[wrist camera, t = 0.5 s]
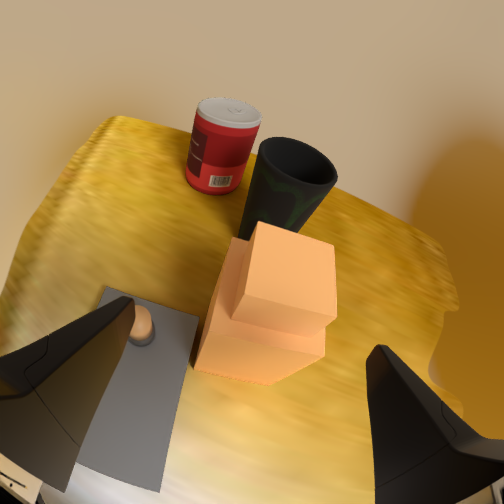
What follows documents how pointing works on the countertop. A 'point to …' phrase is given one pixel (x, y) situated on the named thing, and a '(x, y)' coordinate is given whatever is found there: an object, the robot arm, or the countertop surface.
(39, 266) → the countertop surface
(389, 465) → the robot arm
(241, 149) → the canned food
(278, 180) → the cup
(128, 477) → the board
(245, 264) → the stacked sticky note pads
